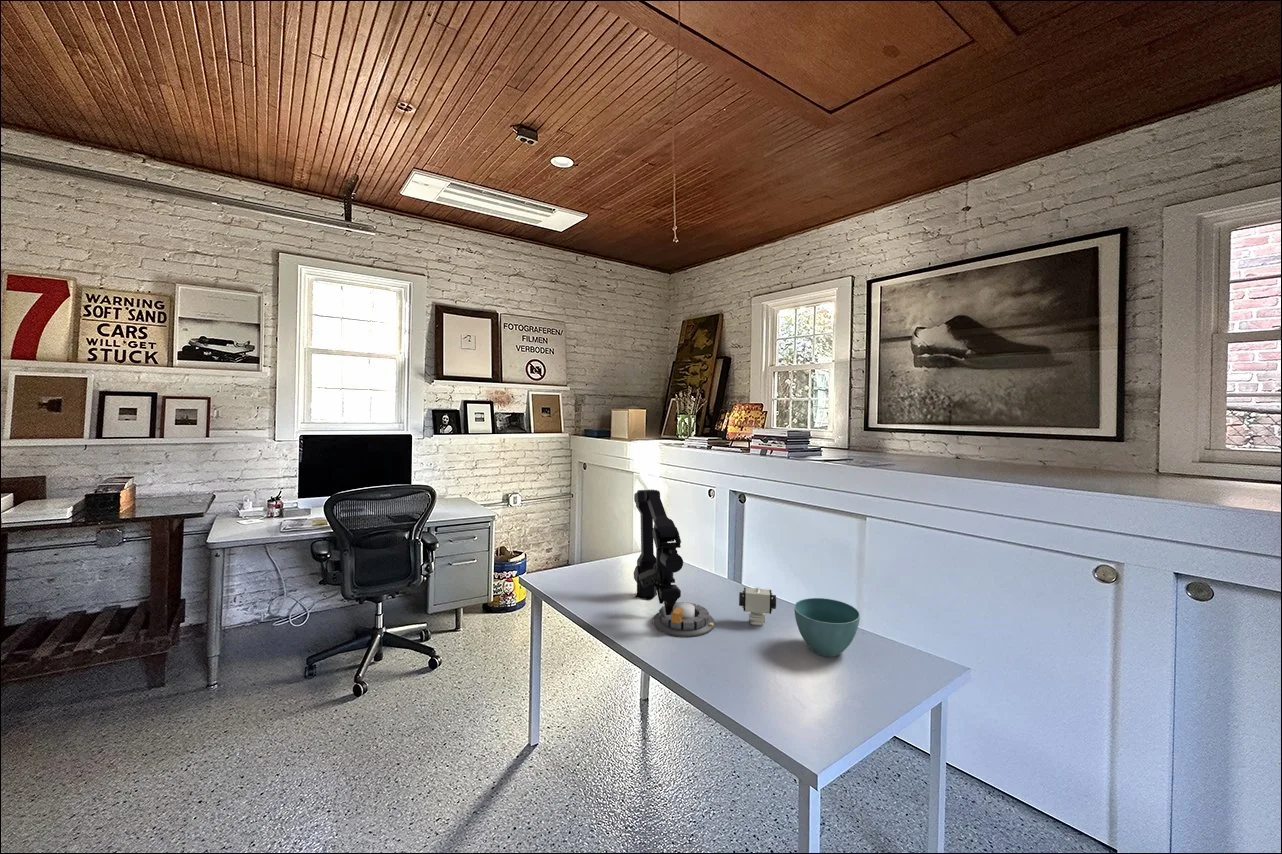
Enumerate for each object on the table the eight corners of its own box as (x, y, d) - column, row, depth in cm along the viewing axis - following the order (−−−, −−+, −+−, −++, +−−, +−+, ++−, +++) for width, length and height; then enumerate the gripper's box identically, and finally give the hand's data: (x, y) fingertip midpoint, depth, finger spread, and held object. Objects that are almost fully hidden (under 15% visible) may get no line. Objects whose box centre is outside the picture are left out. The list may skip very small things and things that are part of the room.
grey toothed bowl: (651, 625, 169) (651, 609, 168) (669, 606, 184) (669, 591, 184) (699, 635, 162) (699, 617, 162) (713, 614, 178) (714, 598, 177)
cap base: (643, 630, 168) (644, 613, 168) (665, 606, 187) (665, 591, 186) (704, 642, 160) (704, 624, 160) (721, 616, 179) (721, 600, 178)
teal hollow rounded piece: (816, 669, 145) (817, 626, 144) (781, 639, 163) (782, 600, 162) (872, 661, 150) (873, 619, 149) (832, 632, 168) (834, 595, 167)
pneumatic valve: (775, 628, 170) (776, 592, 169) (738, 624, 173) (739, 589, 172) (774, 621, 176) (775, 585, 175) (738, 617, 178) (739, 583, 177)
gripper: (635, 554, 180) (635, 599, 181) (646, 573, 161) (645, 623, 162) (667, 553, 182) (666, 597, 183) (681, 571, 164) (680, 620, 165)
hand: (664, 609), depth 173 cm, fingers open, 9 cm apart
